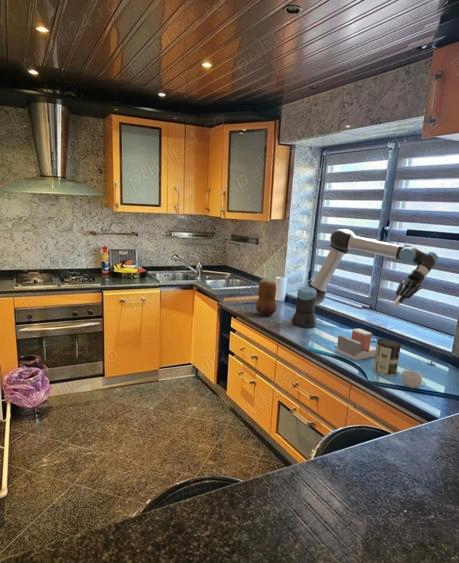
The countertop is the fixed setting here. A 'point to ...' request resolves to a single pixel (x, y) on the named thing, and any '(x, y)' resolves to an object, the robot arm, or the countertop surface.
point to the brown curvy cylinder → (266, 297)
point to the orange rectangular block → (362, 338)
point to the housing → (353, 348)
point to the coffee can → (386, 357)
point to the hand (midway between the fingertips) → (394, 305)
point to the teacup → (412, 379)
